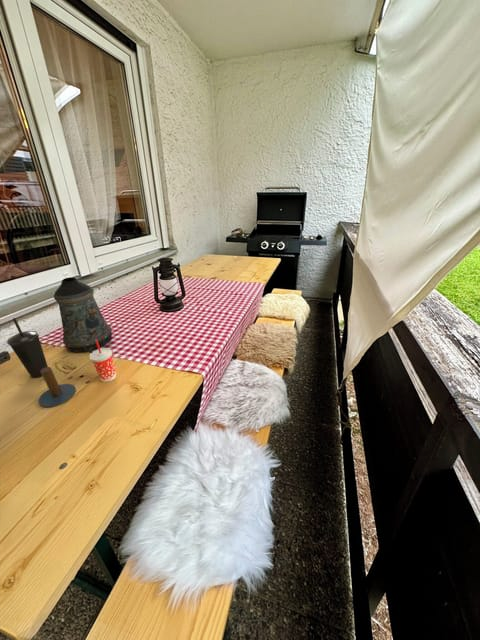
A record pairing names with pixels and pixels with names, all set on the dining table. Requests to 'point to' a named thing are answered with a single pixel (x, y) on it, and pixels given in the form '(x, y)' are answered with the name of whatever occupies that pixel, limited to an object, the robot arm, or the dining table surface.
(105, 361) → the beverage cup
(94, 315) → the beer stein
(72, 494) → the dining table surface
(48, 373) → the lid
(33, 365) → the drinking cup
